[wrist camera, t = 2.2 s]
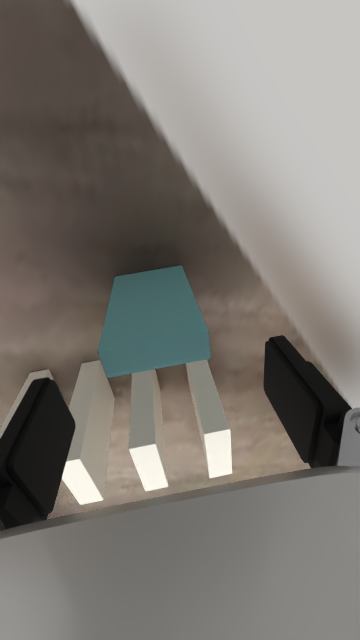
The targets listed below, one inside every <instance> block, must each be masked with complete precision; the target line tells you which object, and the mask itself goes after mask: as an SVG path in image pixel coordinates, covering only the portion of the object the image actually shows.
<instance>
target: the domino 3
mask: <svg viewBox="0 0 360 640" xmlns="http://www.w3.org/2000/svg"><path fill="white" fill-rule="evenodd" d="M129 451H130V454H131V456H132V459H133V461H134V464H135V466H136V469H137V471H138V474H139V476H140V479H141V481H142V484H143V486H144V489H145V491H150V490H154V489H159V488H164V487H168V476H167V464H166V452H165V441H164V429H163V417H162V405H161V394H160V387H159V383H158V379H157V375H156V370H155V369H153V370H148V371H142V372H137V373H132V386H131V409H130V432H129Z"/></svg>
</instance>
